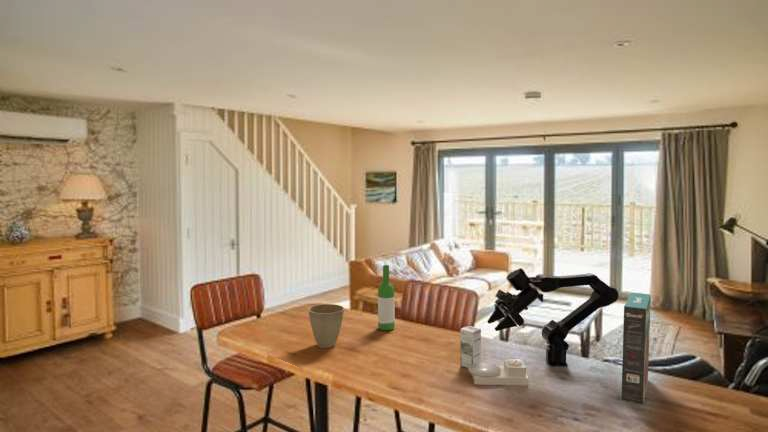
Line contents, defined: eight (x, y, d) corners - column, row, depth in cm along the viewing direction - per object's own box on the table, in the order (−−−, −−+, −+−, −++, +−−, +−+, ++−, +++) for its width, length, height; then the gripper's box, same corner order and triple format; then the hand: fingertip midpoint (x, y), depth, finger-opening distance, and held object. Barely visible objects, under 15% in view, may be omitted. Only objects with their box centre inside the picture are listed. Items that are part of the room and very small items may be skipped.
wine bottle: (394, 331, 227) (394, 267, 225) (377, 331, 227) (377, 267, 225) (394, 326, 234) (394, 264, 232) (378, 326, 235) (377, 264, 233)
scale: (521, 372, 176) (521, 356, 176) (528, 385, 165) (528, 368, 165) (466, 371, 177) (466, 355, 177) (470, 384, 167) (470, 367, 166)
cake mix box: (642, 404, 151) (645, 308, 149) (621, 399, 154) (624, 306, 152) (648, 379, 170) (650, 294, 168) (628, 376, 173) (631, 292, 171)
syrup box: (481, 366, 183) (481, 328, 182) (472, 370, 179) (473, 331, 178) (468, 362, 187) (468, 325, 186) (459, 366, 183) (459, 328, 182)
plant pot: (302, 348, 203) (301, 311, 202) (319, 338, 217) (319, 302, 216) (334, 353, 197) (333, 314, 196) (350, 342, 211) (349, 305, 210)
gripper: (502, 278, 192) (471, 304, 192) (519, 288, 173) (485, 317, 173) (519, 299, 193) (489, 325, 193) (538, 312, 174) (504, 340, 174)
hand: (491, 326), depth 183 cm, fingers open, 9 cm apart
